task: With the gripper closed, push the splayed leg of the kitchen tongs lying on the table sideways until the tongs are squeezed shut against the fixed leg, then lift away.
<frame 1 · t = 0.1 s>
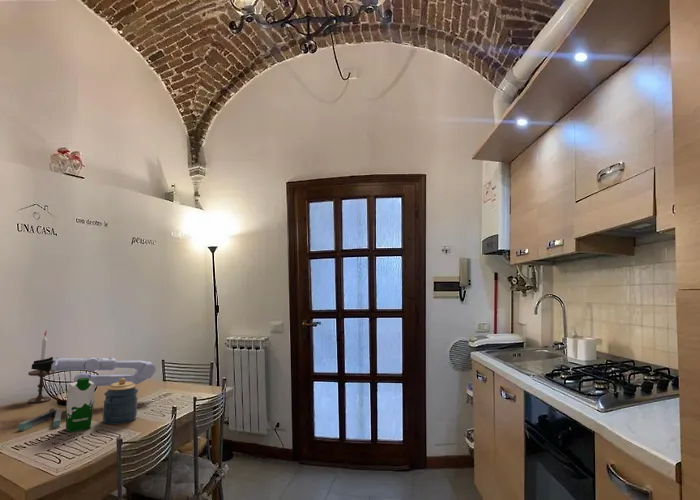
hand: (32, 364, 184), 22 cm above the table, tool horizontal, fingers open, 7 cm apart
tong leg: (35, 420, 170), point 1 cm above the table, hinge at 30.0°
milk carton: (78, 428, 165), on the table
tongs fixed: (51, 416, 179), on the table
candlestick: (39, 401, 203), on the table
canister: (119, 420, 177), on the table
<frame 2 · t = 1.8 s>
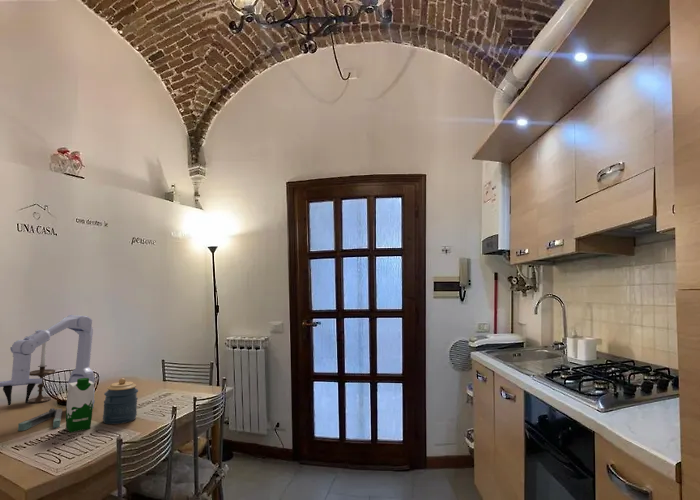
hand: (18, 403, 166), 9 cm above the table, tool pointing down, fingers open, 5 cm apart
nothing on the table moved.
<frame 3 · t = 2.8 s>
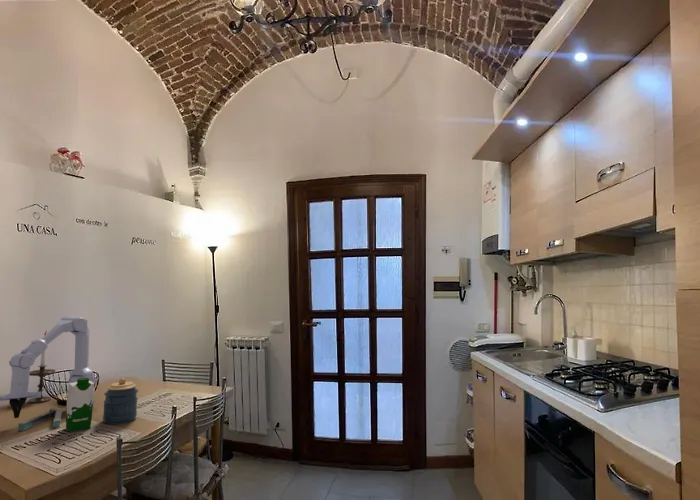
hand: (16, 417, 166), 4 cm above the table, tool pointing down, fingers closed
nothing on the table moved.
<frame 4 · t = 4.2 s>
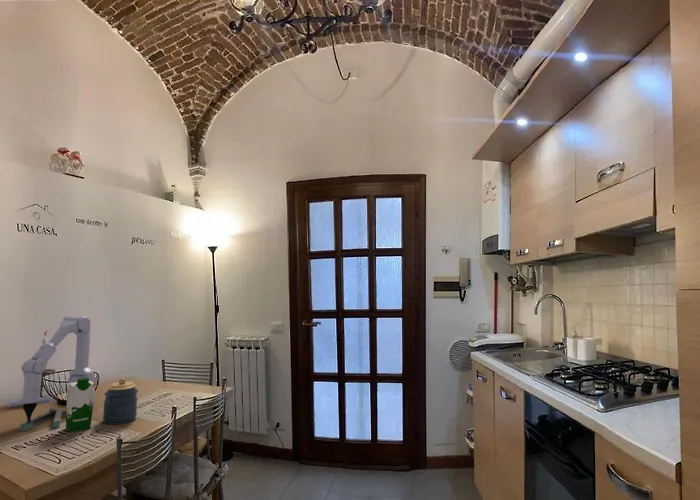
hand: (28, 422, 168), 1 cm above the table, tool pointing down, fingers closed, pressing on tong leg
tong leg: (37, 420, 170), point 1 cm above the table, hinge at 27.1°, touching gripper
everything else where it was.
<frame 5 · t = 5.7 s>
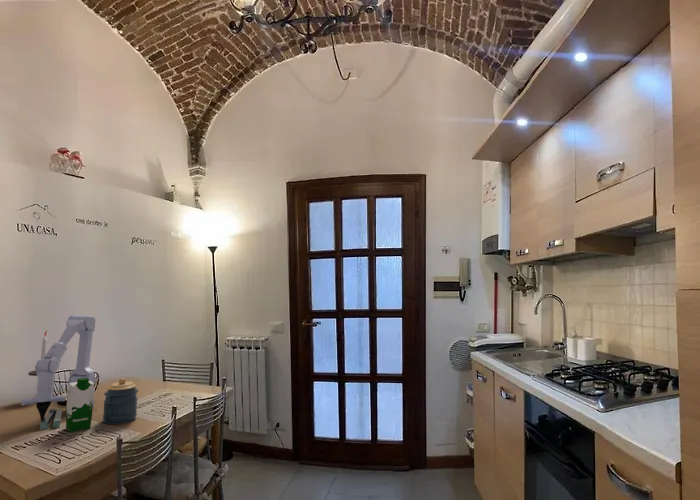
hand: (42, 420, 170), 1 cm above the table, tool pointing down, fingers closed
tong leg: (47, 419, 171), point 1 cm above the table, hinge at 5.3°, touching gripper
everything else where it was.
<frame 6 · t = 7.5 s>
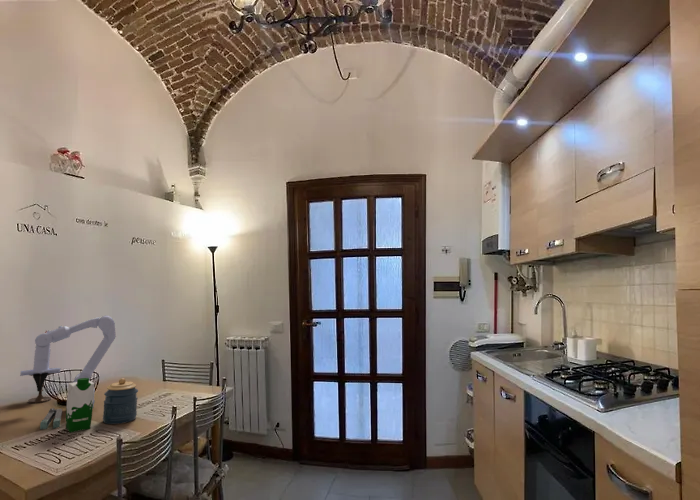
hand: (39, 390, 185), 10 cm above the table, tool pointing down, fingers closed
tong leg: (47, 419, 171), point 1 cm above the table, hinge at 5.3°
everything else where it was.
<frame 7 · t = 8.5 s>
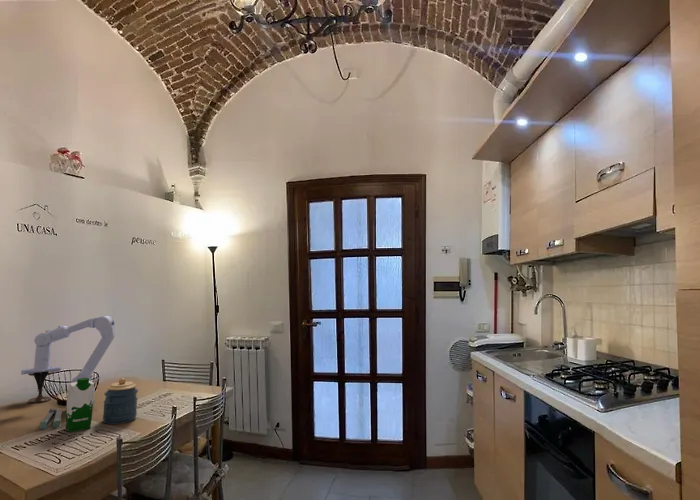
hand: (39, 388, 188), 10 cm above the table, tool pointing down, fingers closed
nothing on the table moved.
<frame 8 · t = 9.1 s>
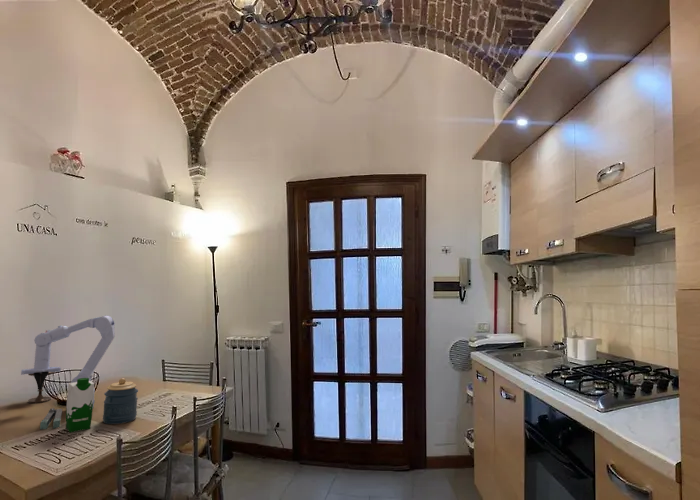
hand: (39, 388, 188), 10 cm above the table, tool pointing down, fingers closed
nothing on the table moved.
at the end: tong leg at +5° (first picture: +30°); tong leg touching nothing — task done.
